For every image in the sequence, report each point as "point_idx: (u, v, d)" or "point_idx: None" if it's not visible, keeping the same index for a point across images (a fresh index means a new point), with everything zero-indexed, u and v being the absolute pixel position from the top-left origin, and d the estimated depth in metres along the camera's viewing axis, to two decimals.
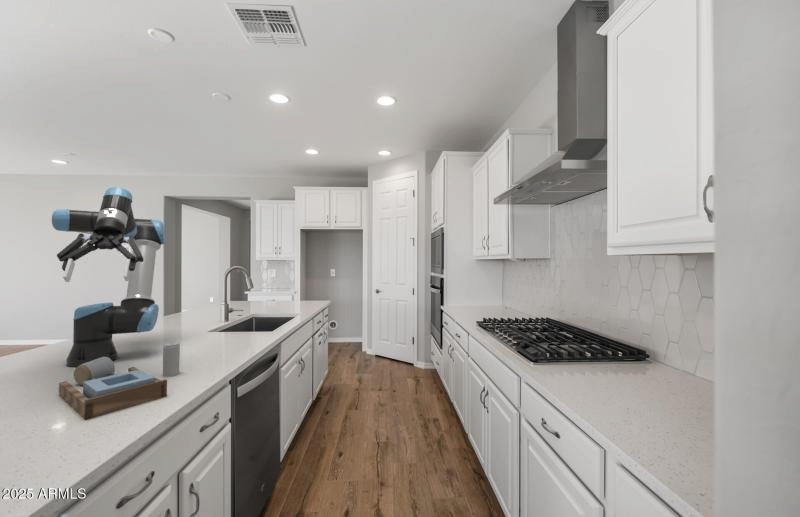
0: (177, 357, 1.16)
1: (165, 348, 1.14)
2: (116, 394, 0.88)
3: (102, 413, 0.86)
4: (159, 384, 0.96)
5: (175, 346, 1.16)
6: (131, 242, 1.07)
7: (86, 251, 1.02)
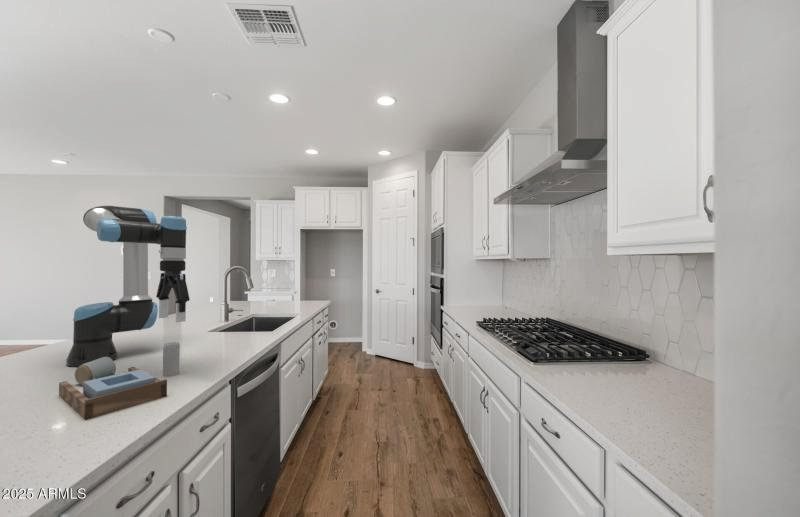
0: (177, 357, 1.16)
1: (165, 348, 1.14)
2: (116, 394, 0.88)
3: (102, 413, 0.86)
4: (159, 384, 0.96)
5: (175, 346, 1.16)
6: (177, 283, 1.12)
7: (167, 290, 1.19)
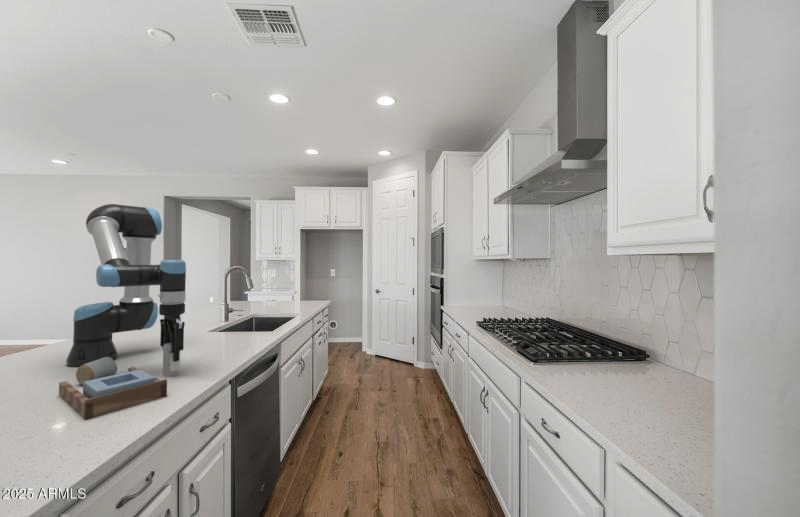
0: None
1: (165, 348, 1.14)
2: (116, 394, 0.88)
3: (102, 413, 0.86)
4: (159, 384, 0.96)
5: None
6: (175, 331, 1.13)
7: (170, 335, 1.18)
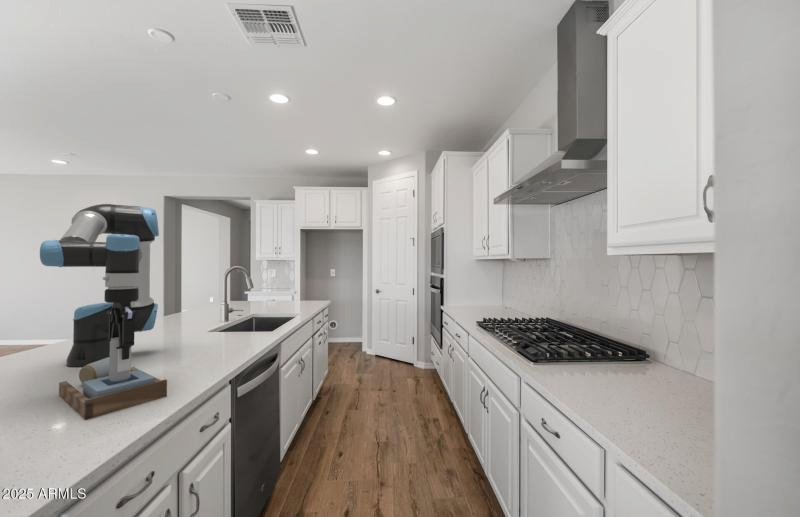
0: None
1: (112, 343, 0.93)
2: (116, 394, 0.88)
3: (102, 413, 0.86)
4: (159, 384, 0.96)
5: None
6: (123, 322, 0.91)
7: None
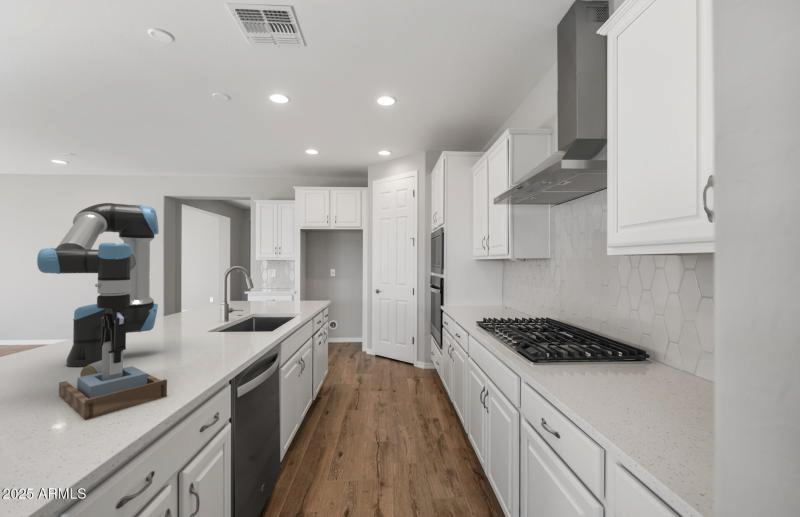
0: None
1: (104, 347, 0.96)
2: (116, 394, 0.88)
3: (102, 413, 0.86)
4: (159, 384, 0.96)
5: None
6: (114, 327, 0.95)
7: None
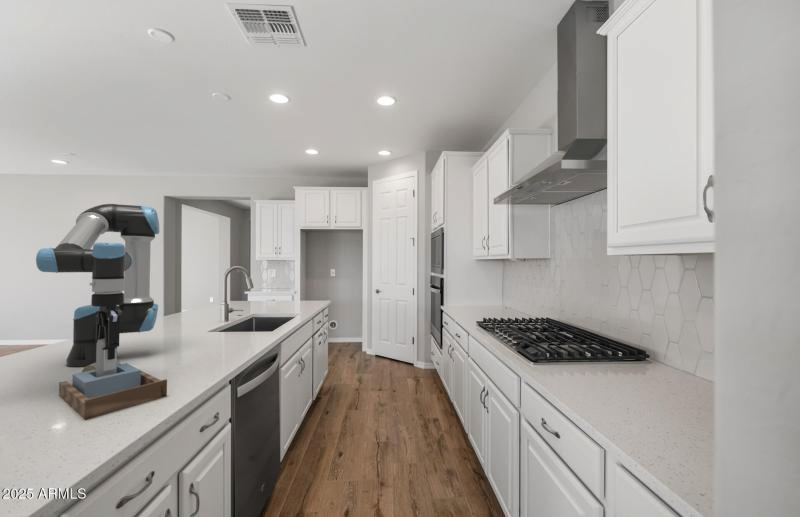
0: None
1: (98, 344, 0.99)
2: (116, 394, 0.88)
3: (102, 413, 0.86)
4: (159, 384, 0.96)
5: None
6: (108, 325, 0.98)
7: None
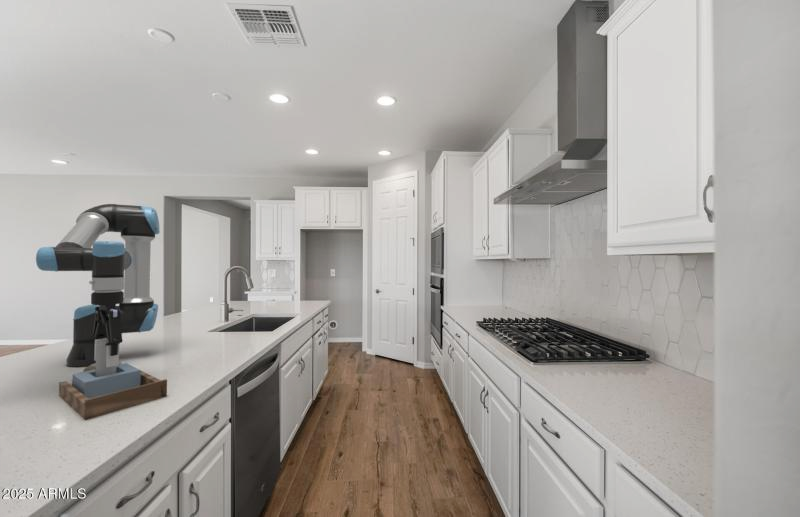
0: None
1: (98, 345, 0.99)
2: (116, 394, 0.88)
3: (102, 413, 0.86)
4: (159, 384, 0.96)
5: None
6: (109, 321, 0.97)
7: (104, 326, 1.04)
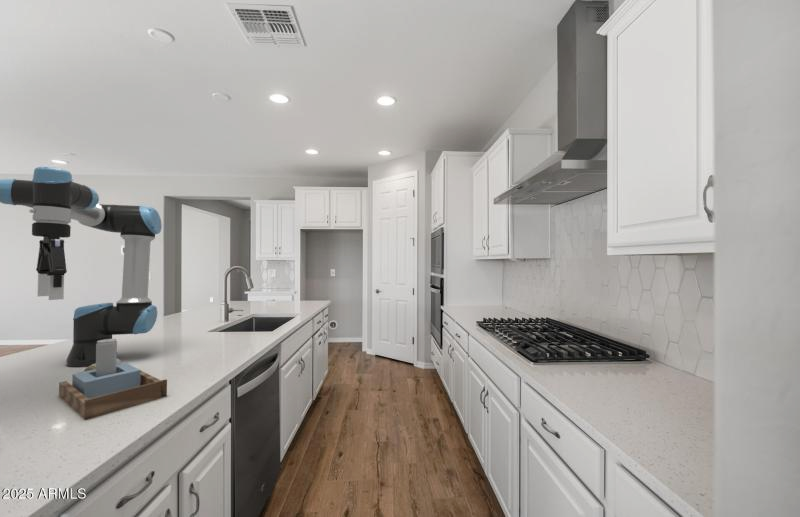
0: (113, 356, 1.01)
1: (98, 345, 0.99)
2: (116, 394, 0.88)
3: (102, 413, 0.86)
4: (159, 384, 0.96)
5: (110, 343, 1.01)
6: (50, 250, 0.89)
7: (48, 261, 0.96)
